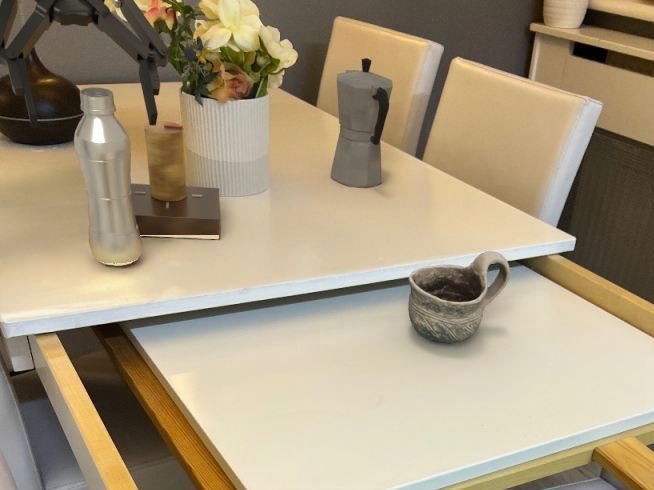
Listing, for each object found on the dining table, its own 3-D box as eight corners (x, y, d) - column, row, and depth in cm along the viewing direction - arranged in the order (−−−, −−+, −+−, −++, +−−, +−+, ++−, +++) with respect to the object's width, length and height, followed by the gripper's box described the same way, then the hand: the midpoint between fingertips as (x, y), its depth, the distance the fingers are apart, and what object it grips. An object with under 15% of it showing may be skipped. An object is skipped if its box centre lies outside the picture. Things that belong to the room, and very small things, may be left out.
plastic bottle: (96, 275, 98) (70, 102, 84) (87, 251, 102) (61, 83, 89) (148, 270, 100) (131, 101, 87) (138, 247, 104) (120, 83, 91)
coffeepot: (316, 164, 135) (323, 46, 123) (367, 162, 138) (377, 47, 126) (349, 199, 125) (359, 75, 113) (402, 196, 128) (418, 75, 116)
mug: (386, 322, 97) (396, 245, 90) (465, 304, 103) (480, 230, 96) (431, 361, 92) (446, 282, 85) (512, 340, 98) (531, 264, 91)
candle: (149, 200, 109) (143, 129, 102) (151, 186, 112) (145, 117, 106) (186, 202, 110) (182, 132, 103) (187, 188, 113) (183, 120, 107)
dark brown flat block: (114, 235, 106) (112, 212, 104) (122, 200, 115) (120, 178, 113) (219, 240, 109) (219, 217, 107) (219, 205, 118) (219, 184, 115)
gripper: (161, -30, 100) (195, 134, 101) (-55, -42, 91) (-17, 138, 92) (167, -74, 93) (204, 102, 94) (-66, -92, 84) (-25, 103, 85)
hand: (95, 120), depth 93 cm, fingers open, 13 cm apart
